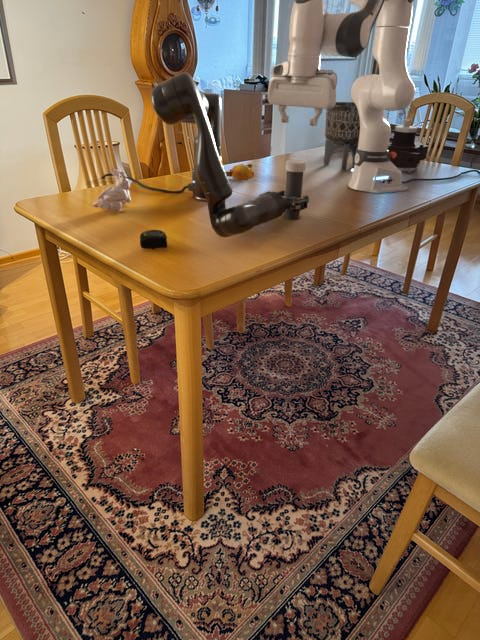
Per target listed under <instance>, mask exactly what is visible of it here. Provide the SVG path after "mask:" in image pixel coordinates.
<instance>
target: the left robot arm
mask: <svg viewBox="0 0 480 640" xmlns="http://www.w3.org/2000/svg"><path fill="white" fill-rule="evenodd" d="M150 94H151V95H150V102H151V106H152V108H153V111H154V112H155V114H156V115H157V117H158V118H159V119H160V120H161V121H162V122H163V123H164V124H166V125H168V126H173V125H176V124H179V123H184V124H194V125H195V126H196V131H197V132H196V133H197V135H196V136H195V137H194V138H193V142H192V143H193V145H192V146H193V169H192V170H191V179H192V182H191V183H187V185H185V186H183V187H182V189H180V190H168V189H164V188H163V189H162V188H157V187H151V186H148V185H145V184H143V183H141V182H140V181H139V180H138V179H135V178H132V177H129V176H125V177H126V178H127V179H128V180H131V181H132V182H135V183H136V184H138V185H139V186H140V187H142V188H144V189H147V190H149V191H154V192H161V193H166V194H181V193H184V192H185V190H186V189H187V190H188V192H192V198H195V199H196V200H198V201H201V202H206V203H207V209H208V216H209V222H210V224H211V228H212V230H213V231H214V233H215V234H216V235H217V236H219V237H221V238H229V237H232V236H236V235H240V234H244V233H246V232H248V231H251V230H252V229H253V228H254V227H257V226H259V225H261V224H266V223H268V222H270V221H273V220H275V219H277V218H279V217H282V216H283V215H284V211H285V210H287V209H294V211H295V212H298V211H300V212H301V211H303V210H306V209H308V205H309V204H308V203H309V202H310V201H309V200H310V197H309V195H303V196H301V198H296V197H295V196H291V197H287V196H285V191H286V190H279V191H270V190H269V191H265V192H263V193H261V194H259V195H258V196H256V197H254V198H253V199H250V200H248V201H245V202H243V203H241V204H238V205H234V206H231V207H228V208H227V206H226V200H227V199H229V198H230V197H231V196H232V194H233V187H232V184H231V182H230V180H229V178H228V177H229V176H227V175H226V170H225V167H224V165H223V163H222V117H223V116H222V115H223V100H222V98H221V95H220V94H218V93H206V92H203V91H202V90H200V89H199V88H198V86H197V83H196V81H195V80H194V78H193V77H192V75H191V74H189V72H187V71H183V72H180V73H178V74H175V75H173V76H171V77H170V78H168V79H166V80H163V81H162V82H160V83H158V84H156V85H155V86H154V87H153V88H152V90H151V93H150ZM106 177H114V176H113V175H112V173H105V174H103V175H102V176H101V179H105V178H106ZM120 178H122V177H121V175H120ZM291 199H293V204H292V202H291ZM298 200H300V201H298ZM297 201H298V202H297Z"/></svg>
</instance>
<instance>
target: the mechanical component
mask: <svg viewBox="0 0 480 640" xmlns="http://www.w3.org/2000/svg"><path fill="white" fill-rule="evenodd" d="M411 122H412V121H411V119H403V125H401V124H400V125H395V126H394V132H393V136H392V142H389V145H388V151H390V152H395V154H397V156H396V157H395V158H392V157H390V161H391V162H392V163H393V164H394V165H395V166H396V167H397V168H398V169H399V170H400V171H401V172H407V173H408V174H412V171H415V170H416V169H417V168H419V167H420V166H421V161H423V160H426V159H427V157H428V156H427V155H428V153H429V146H430V145H427V144H424V143H423V142H419V141H416V135H417V132H418V127H417V126H414V125H411Z"/></svg>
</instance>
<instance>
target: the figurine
mask: <svg viewBox="0 0 480 640" xmlns="http://www.w3.org/2000/svg"><path fill="white" fill-rule="evenodd" d="M108 171H109V172H110V174H112V175H113V176H112V177H114V178H115V185H109V186H107V187H106V188H105V189H104V190H103V191H102V192H101V193H100V195H98V196H97V198H96V199H97V200H96V201H94V202H92V206H93V207H94V208H100V209H102V210H105V211H110V212H116V213H118V212H119V213H120V212H124V210H123V209H122V207H126V203H128V204H129V203H131V202H132V198H131V196H130V195H131V194H130V193H131V192H130V188H131V184H132V183H133V181H132V180H129V179H127V178H126V177H127V175H126V173H125V172H124V171H123V170H121V169H120V168H117V169H116V168H114V167H111V168H109V169H108ZM120 176H121V177H122V178H120Z"/></svg>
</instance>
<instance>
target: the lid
mask: <svg viewBox="0 0 480 640" xmlns="http://www.w3.org/2000/svg"><path fill="white" fill-rule="evenodd" d="M306 164H307V162H306V160H302V159H287V160H285V168H284V169H285V171H286V172H287V171H290V172H303V173H304V172H305V171H306Z"/></svg>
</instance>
